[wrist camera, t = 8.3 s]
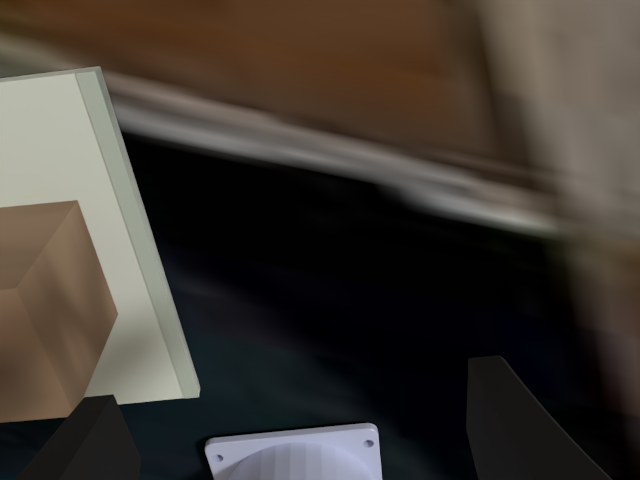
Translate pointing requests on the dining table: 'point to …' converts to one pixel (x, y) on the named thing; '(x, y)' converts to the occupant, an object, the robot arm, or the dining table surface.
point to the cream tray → (97, 222)
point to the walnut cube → (49, 310)
